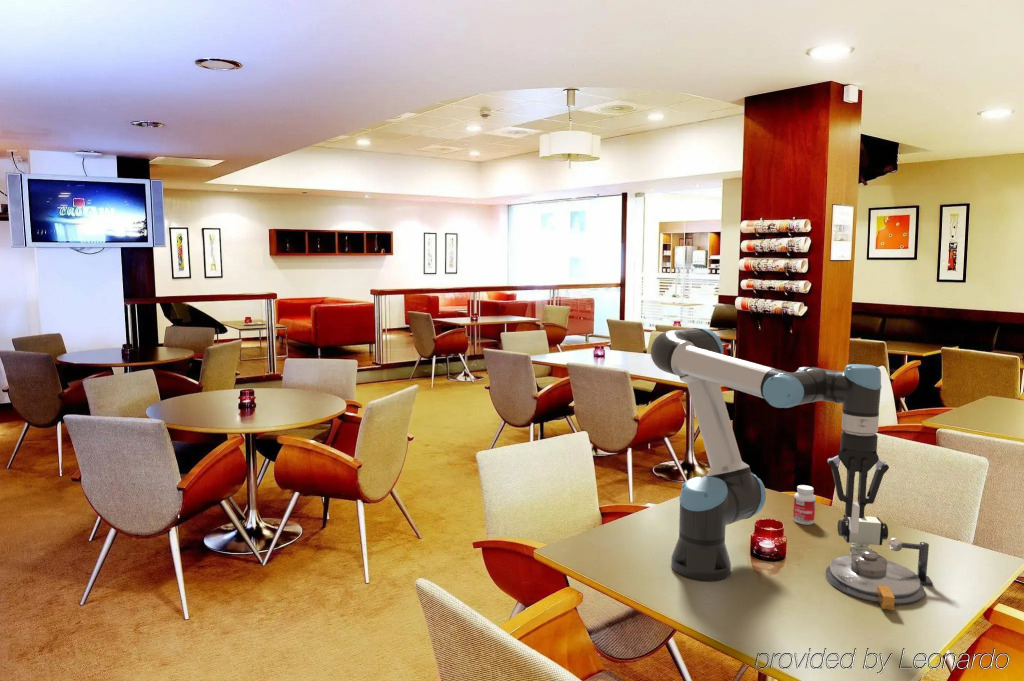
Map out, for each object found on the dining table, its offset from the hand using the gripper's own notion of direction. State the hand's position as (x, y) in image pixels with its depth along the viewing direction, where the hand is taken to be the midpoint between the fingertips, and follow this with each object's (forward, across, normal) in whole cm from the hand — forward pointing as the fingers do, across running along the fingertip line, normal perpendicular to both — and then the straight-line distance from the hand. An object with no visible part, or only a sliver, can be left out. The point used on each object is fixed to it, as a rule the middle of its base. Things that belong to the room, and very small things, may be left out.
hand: (853, 530), depth 161 cm
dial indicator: (+18, +17, +18) cm, 31 cm away
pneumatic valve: (+18, +8, +30) cm, 36 cm away
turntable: (+17, +8, +11) cm, 22 cm away
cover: (+15, +7, +14) cm, 21 cm away
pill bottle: (+18, -4, +54) cm, 57 cm away
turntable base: (+18, +8, +13) cm, 24 cm away
